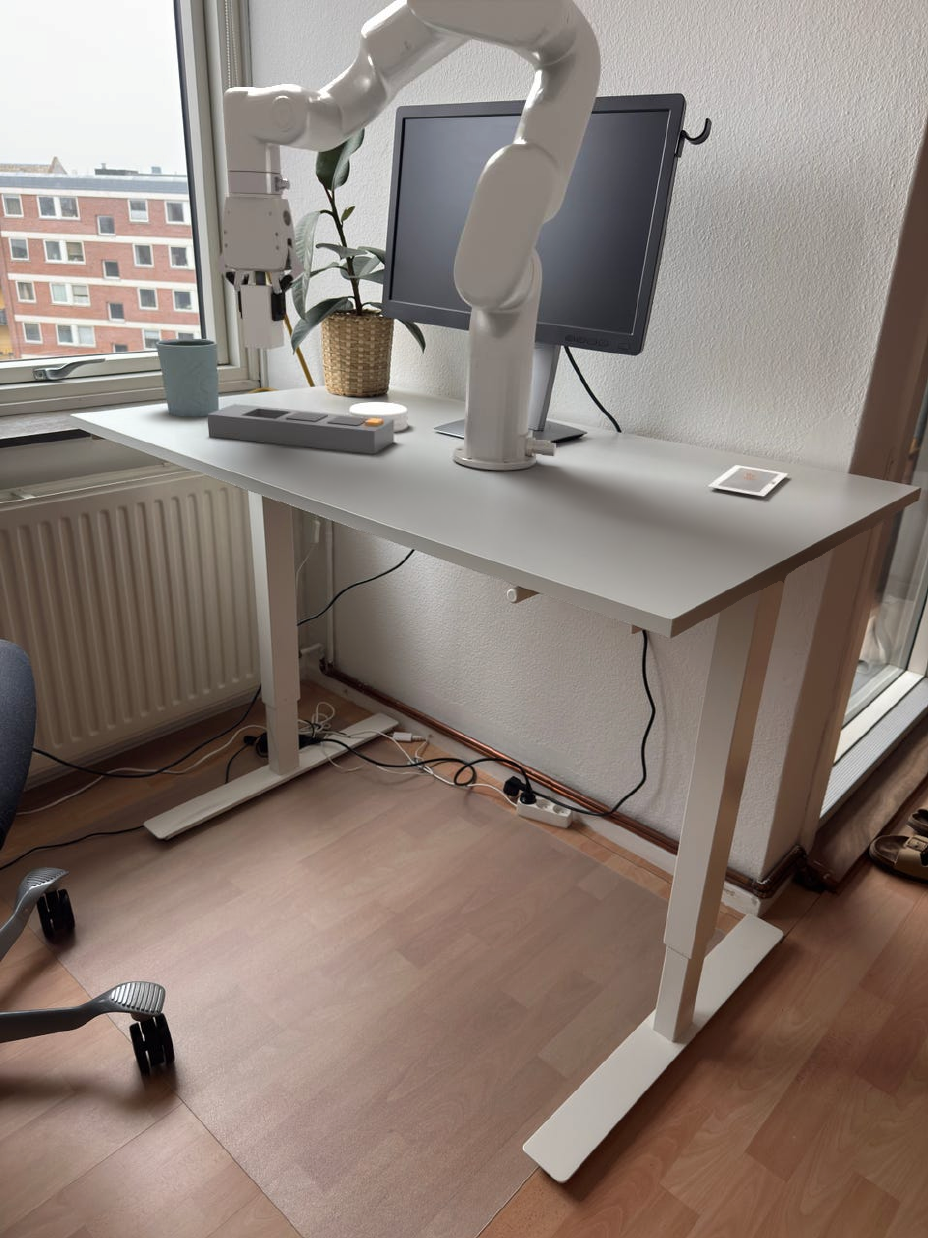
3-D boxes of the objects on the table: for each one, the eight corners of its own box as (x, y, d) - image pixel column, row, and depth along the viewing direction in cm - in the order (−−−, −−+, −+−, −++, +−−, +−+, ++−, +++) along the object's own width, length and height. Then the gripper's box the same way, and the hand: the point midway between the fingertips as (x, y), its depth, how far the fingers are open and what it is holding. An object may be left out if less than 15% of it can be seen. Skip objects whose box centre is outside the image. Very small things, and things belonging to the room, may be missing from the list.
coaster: (349, 433, 147) (349, 412, 146) (349, 421, 156) (348, 401, 155) (409, 434, 149) (410, 413, 147) (405, 421, 158) (405, 401, 156)
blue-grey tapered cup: (221, 417, 154) (216, 346, 149) (160, 417, 151) (153, 345, 147) (222, 405, 163) (217, 338, 158) (164, 406, 160) (157, 337, 155)
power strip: (393, 441, 143) (393, 415, 141) (374, 453, 135) (374, 427, 133) (236, 425, 149) (234, 400, 147) (208, 436, 141) (206, 410, 139)
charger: (284, 345, 139) (280, 270, 134) (271, 349, 135) (267, 271, 130) (258, 343, 140) (253, 269, 135) (244, 347, 136) (239, 270, 131)
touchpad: (706, 493, 124) (708, 478, 123) (734, 471, 136) (736, 458, 135) (762, 504, 120) (765, 488, 119) (786, 480, 132) (789, 466, 131)
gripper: (319, 189, 130) (323, 320, 137) (215, 186, 133) (225, 314, 141) (298, 187, 123) (303, 325, 130) (189, 184, 127) (200, 318, 134)
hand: (262, 318), depth 136 cm, fingers closed on charger, 4 cm apart
